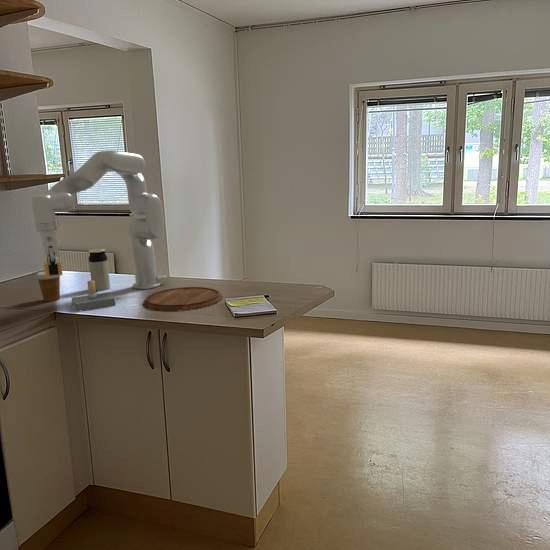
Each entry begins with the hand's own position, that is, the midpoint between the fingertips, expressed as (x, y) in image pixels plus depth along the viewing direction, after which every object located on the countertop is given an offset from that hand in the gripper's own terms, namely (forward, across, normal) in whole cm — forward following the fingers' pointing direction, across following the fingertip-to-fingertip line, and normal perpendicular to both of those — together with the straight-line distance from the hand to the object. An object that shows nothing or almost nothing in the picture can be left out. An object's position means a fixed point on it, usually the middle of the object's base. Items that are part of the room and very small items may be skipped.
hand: (53, 272), depth 209 cm
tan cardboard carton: (+1, 0, 0) cm, 1 cm away
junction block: (+16, 0, -13) cm, 20 cm away
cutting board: (+17, -15, -46) cm, 51 cm away
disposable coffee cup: (+16, +21, +1) cm, 26 cm away
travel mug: (+16, +29, -21) cm, 39 cm away
